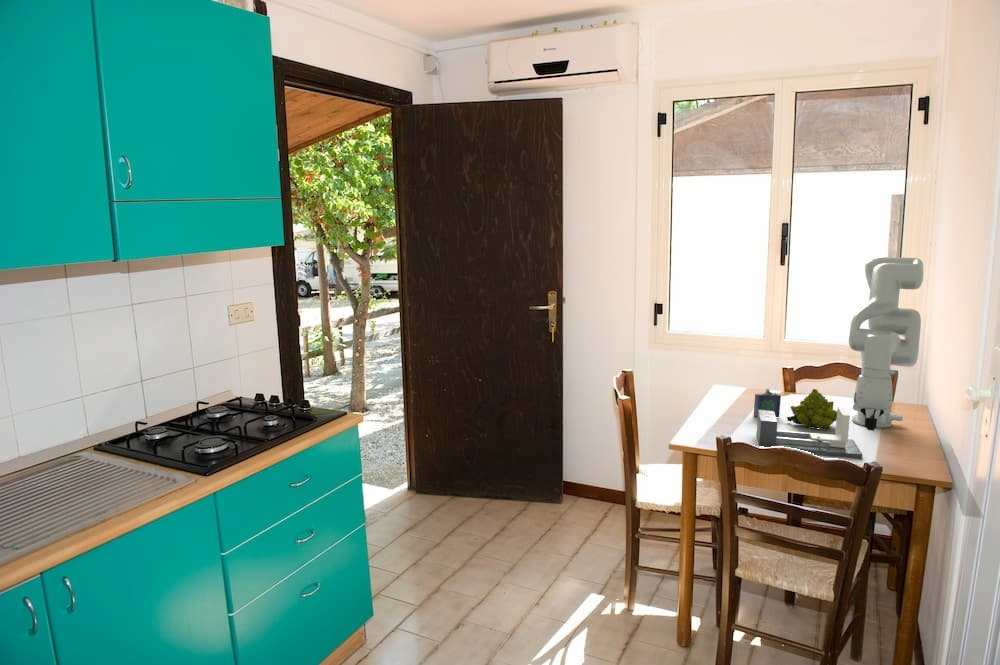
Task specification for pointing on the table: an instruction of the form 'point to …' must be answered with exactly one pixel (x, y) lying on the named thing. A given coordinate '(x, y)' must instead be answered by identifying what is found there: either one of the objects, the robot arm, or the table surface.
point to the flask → (767, 402)
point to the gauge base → (798, 439)
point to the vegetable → (814, 412)
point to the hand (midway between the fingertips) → (869, 429)
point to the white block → (836, 431)
